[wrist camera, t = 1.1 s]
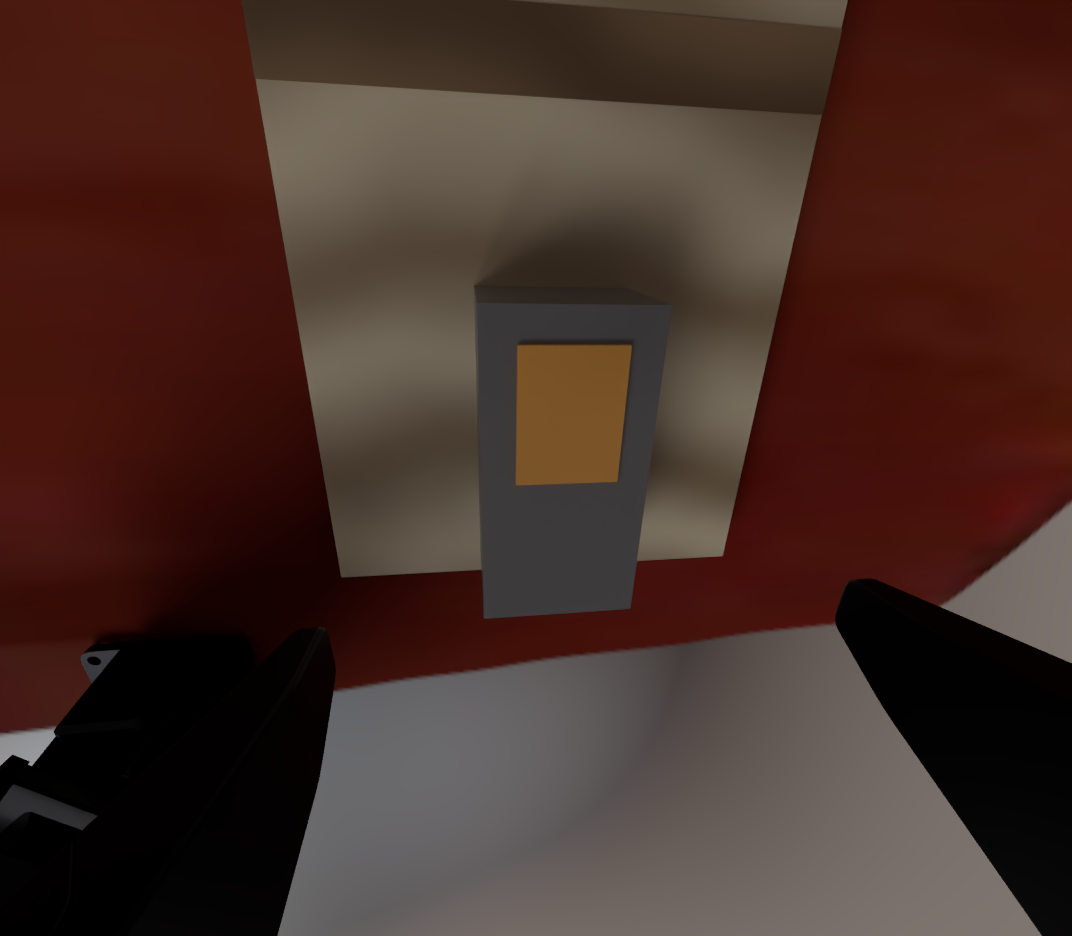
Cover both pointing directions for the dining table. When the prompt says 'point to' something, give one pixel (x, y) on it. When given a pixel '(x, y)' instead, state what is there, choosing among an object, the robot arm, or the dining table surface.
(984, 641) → the robot arm
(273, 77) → the board
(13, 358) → the dining table surface
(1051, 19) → the dining table surface
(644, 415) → the block
